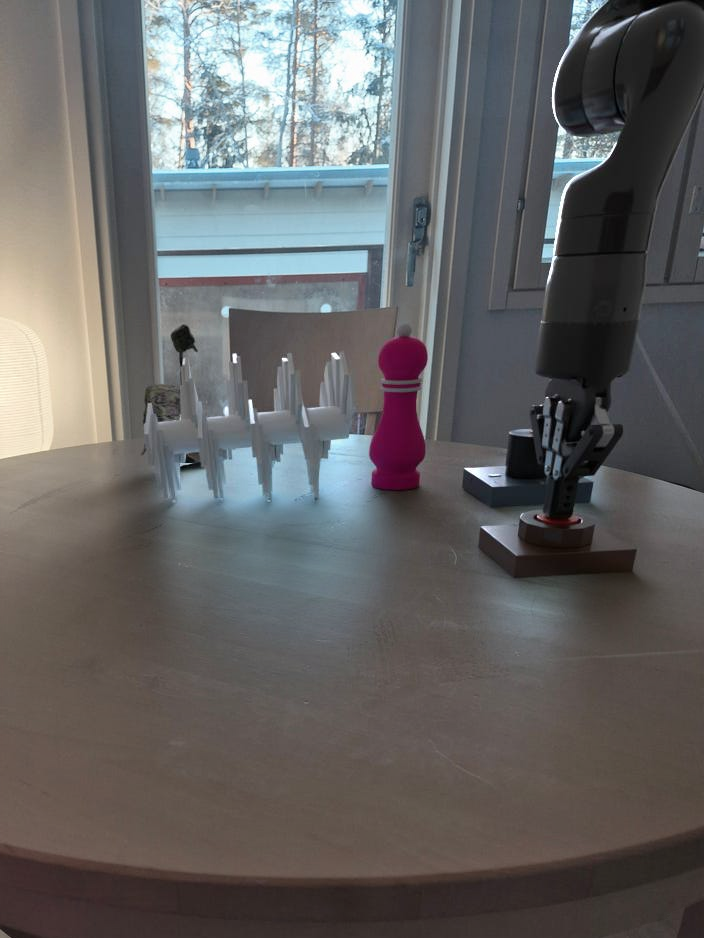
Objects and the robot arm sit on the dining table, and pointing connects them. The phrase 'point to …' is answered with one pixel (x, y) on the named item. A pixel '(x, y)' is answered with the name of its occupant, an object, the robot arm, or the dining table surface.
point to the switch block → (555, 548)
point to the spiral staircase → (252, 426)
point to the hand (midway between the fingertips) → (556, 516)
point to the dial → (523, 456)
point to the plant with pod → (171, 389)
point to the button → (557, 520)
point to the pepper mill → (399, 414)
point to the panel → (513, 488)
